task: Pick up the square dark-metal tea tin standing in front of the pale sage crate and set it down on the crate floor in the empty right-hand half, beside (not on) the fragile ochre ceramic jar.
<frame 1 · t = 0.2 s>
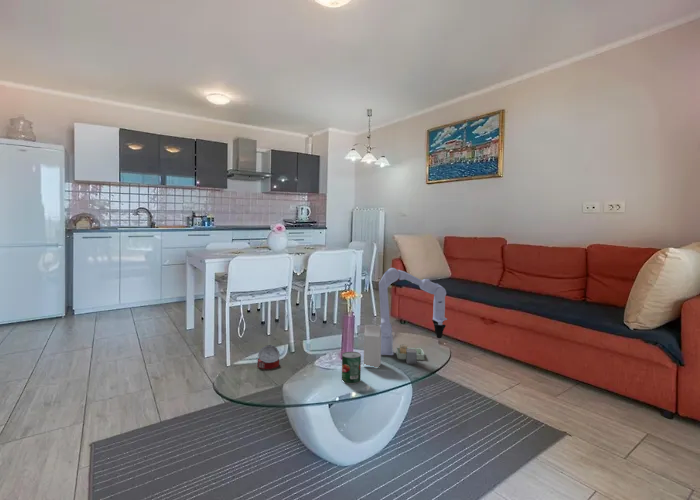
hand: (438, 335, 187), 10 cm above the table, fingers open, 7 cm apart
crate: (409, 356, 184), on the table
milk carton: (372, 366, 170), on the table
grey and red dome: (268, 366, 170), on the table
jar: (403, 355, 184), resting on crate
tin: (411, 363, 175), on the table
canned tomato: (351, 381, 153), on the table
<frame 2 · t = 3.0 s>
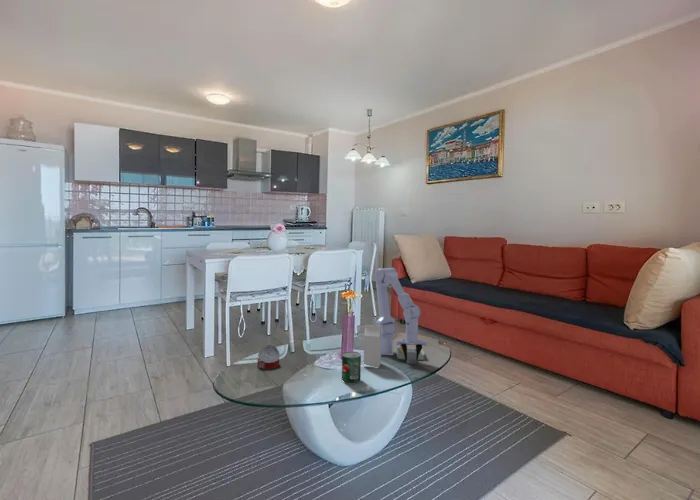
hand: (411, 359, 175), 2 cm above the table, fingers closed on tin, 4 cm apart
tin: (411, 363, 175), on the table, touching gripper
everything else where it was.
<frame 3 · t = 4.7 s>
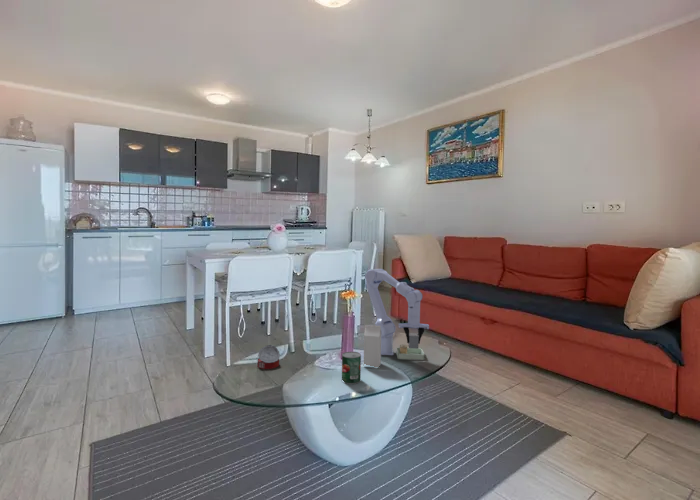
hand: (413, 343, 179), 9 cm above the table, fingers closed on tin, 4 cm apart
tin: (413, 347, 179), point 7 cm above the table, touching gripper
everything else where it was.
when the fingers open (4 cm above the table, at t = 6.8 s): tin drops 1 cm, resting on crate.
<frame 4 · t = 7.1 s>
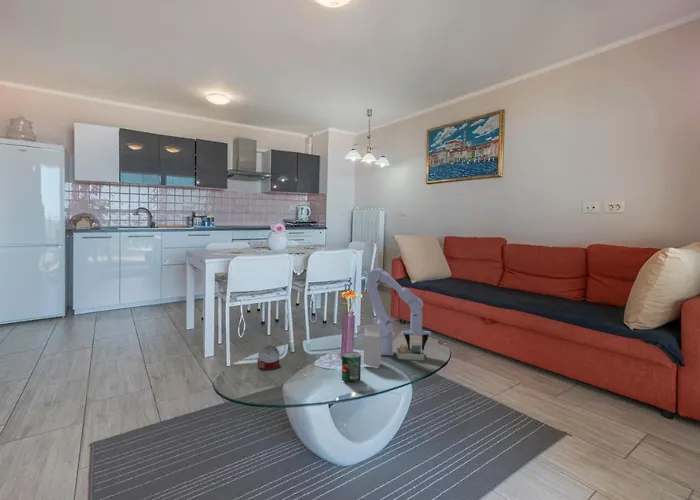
hand: (415, 349, 184), 4 cm above the table, fingers open, 6 cm apart
jar: (403, 355, 184), resting on crate, touching gripper
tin: (415, 356, 184), resting on crate
everything else where it was.
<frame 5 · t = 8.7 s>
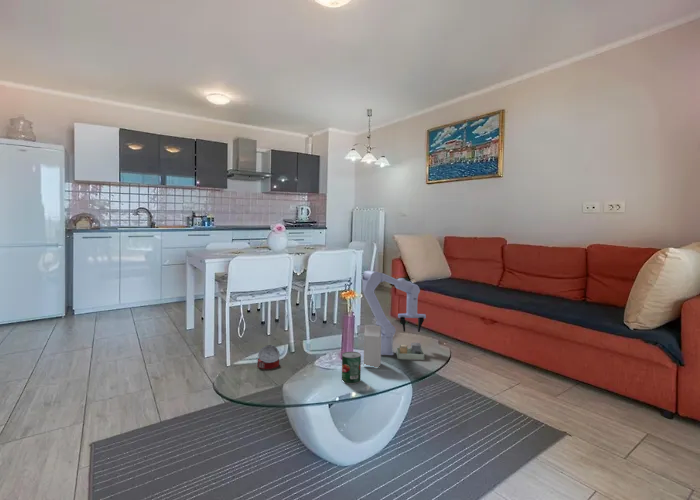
hand: (411, 331, 196), 10 cm above the table, fingers open, 7 cm apart
jar: (403, 355, 184), resting on crate
everything else where it was.
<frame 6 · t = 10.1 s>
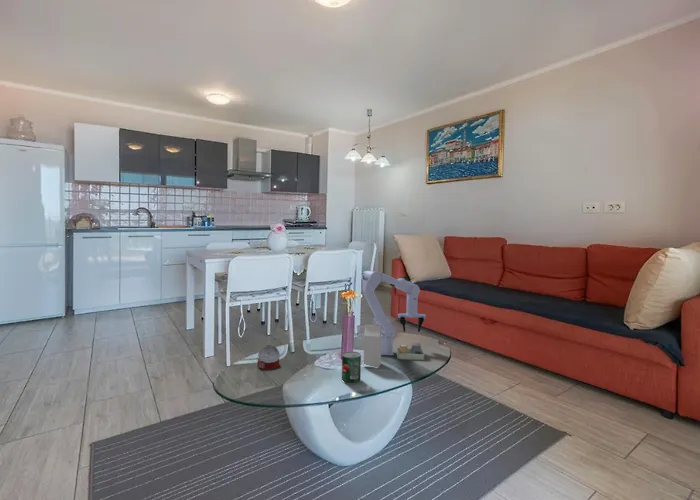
hand: (411, 331, 196), 10 cm above the table, fingers open, 7 cm apart
nothing on the table moved.
at the end: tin 0.3 cm from the target spot, resting on crate; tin tilted 0°; jar moved 0.0 cm from its start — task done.
